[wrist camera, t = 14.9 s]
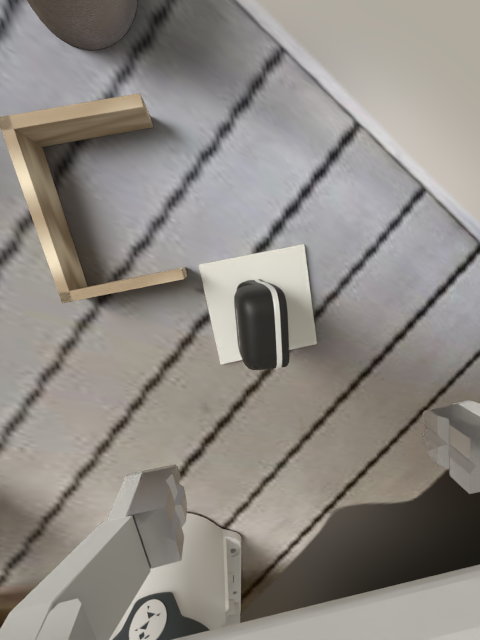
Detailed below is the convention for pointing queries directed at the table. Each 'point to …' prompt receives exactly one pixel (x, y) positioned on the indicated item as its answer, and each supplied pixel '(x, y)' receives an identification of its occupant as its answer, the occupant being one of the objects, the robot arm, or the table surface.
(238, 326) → the battery charger
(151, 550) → the robot arm
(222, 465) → the table surface
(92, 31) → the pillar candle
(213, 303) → the mat
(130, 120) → the bay
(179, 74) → the table surface
